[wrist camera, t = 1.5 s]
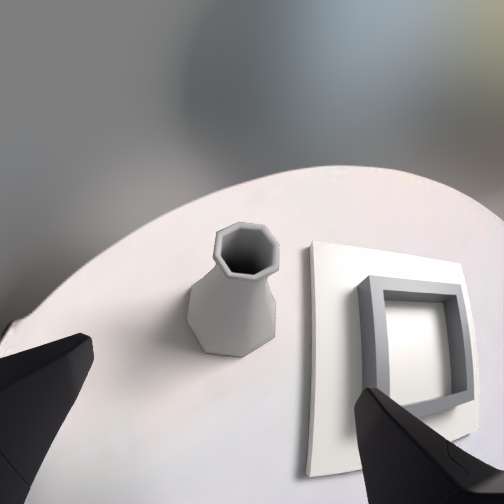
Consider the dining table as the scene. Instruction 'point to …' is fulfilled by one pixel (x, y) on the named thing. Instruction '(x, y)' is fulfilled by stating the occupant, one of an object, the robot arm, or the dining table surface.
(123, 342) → the dining table surface
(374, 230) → the dining table surface
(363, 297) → the collar board
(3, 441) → the robot arm
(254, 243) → the flask
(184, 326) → the dining table surface
